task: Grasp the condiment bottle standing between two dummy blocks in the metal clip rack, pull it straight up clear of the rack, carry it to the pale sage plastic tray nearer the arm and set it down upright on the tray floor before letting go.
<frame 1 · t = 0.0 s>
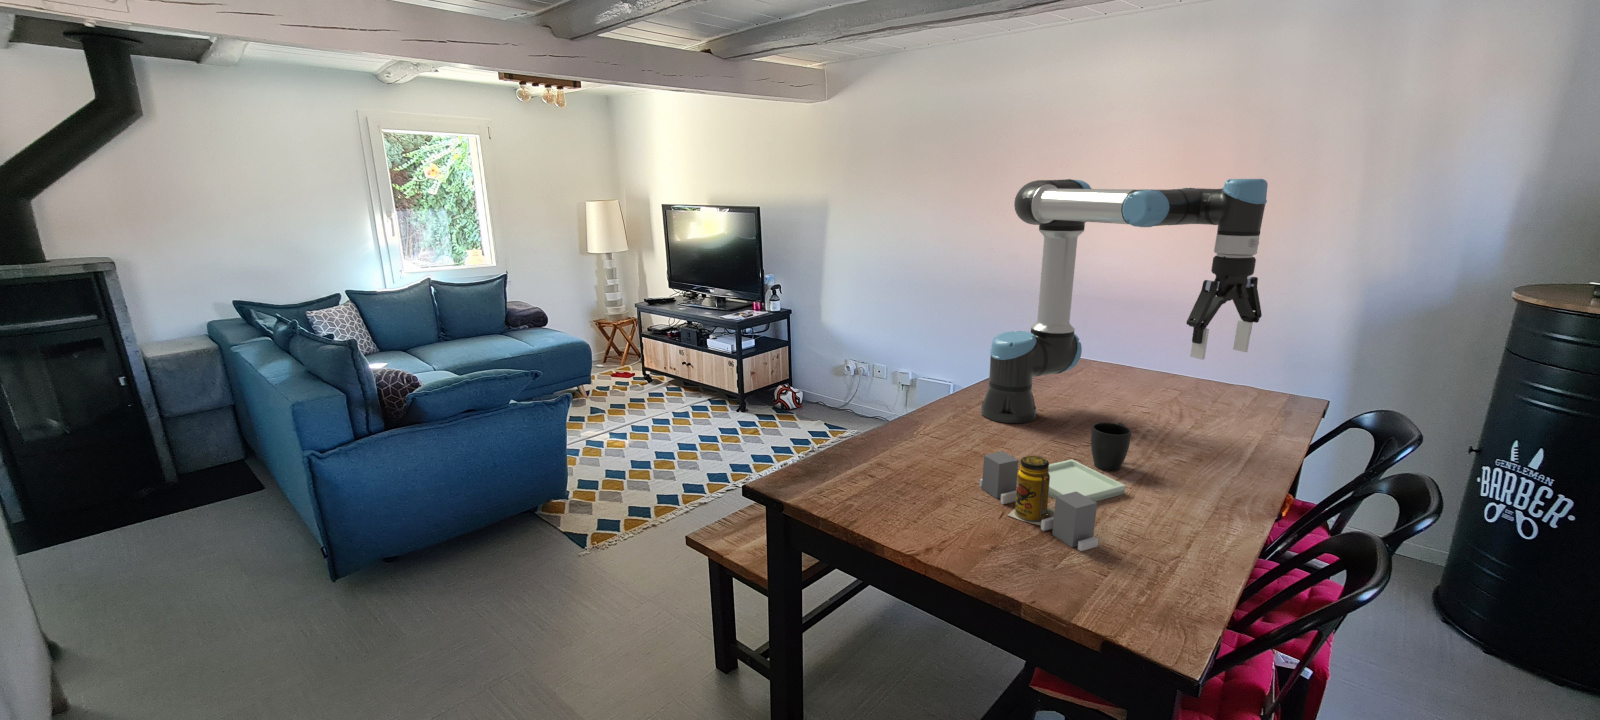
hand: (1219, 354, 142), 28 cm above the table, fingers open, 13 cm apart
tray: (1070, 486, 145), on the table
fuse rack: (1032, 513, 133), on the table
mug: (1109, 464, 155), on the table
condiment: (1032, 514, 133), on the table
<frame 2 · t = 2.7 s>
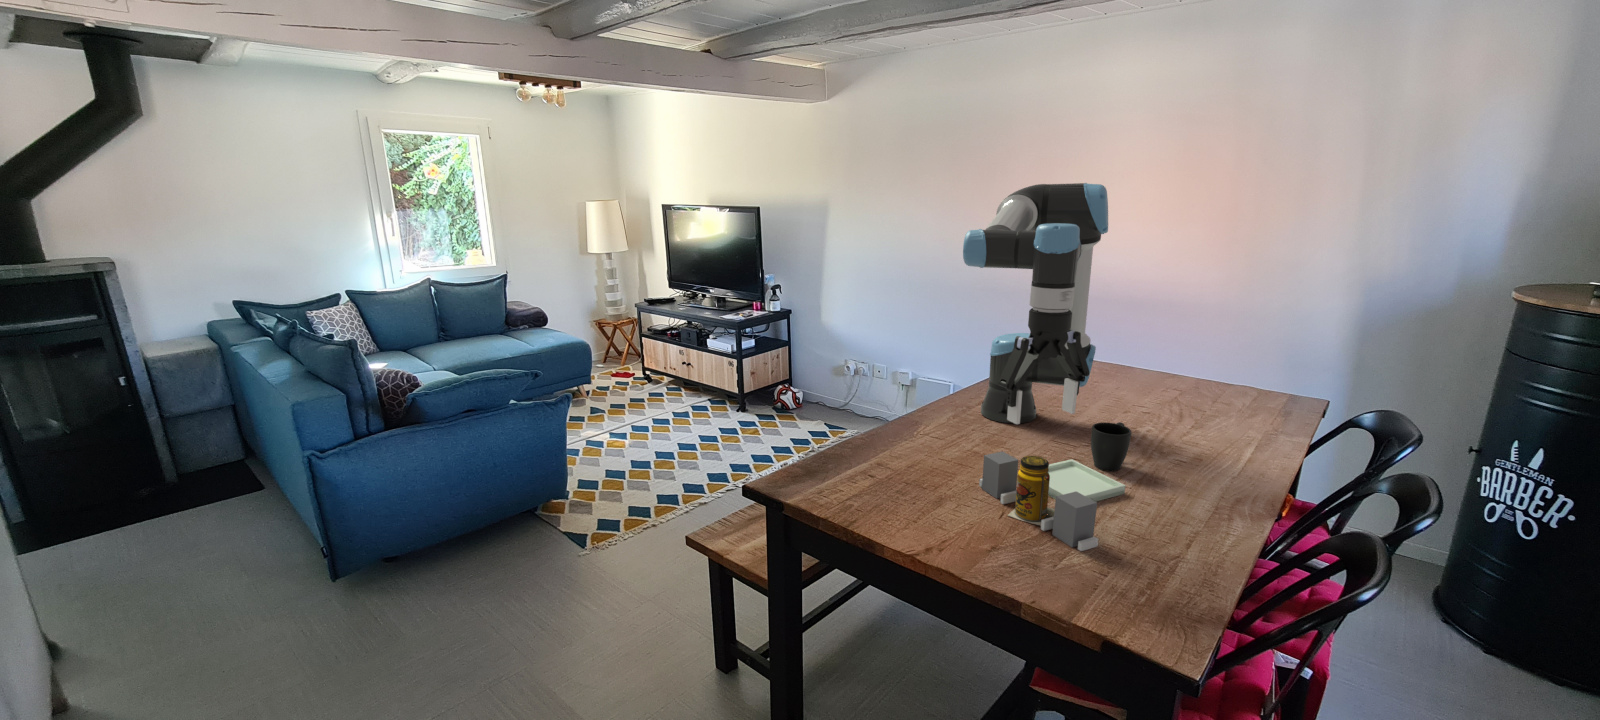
hand: (1041, 416, 128), 21 cm above the table, fingers open, 13 cm apart
nothing on the table moved.
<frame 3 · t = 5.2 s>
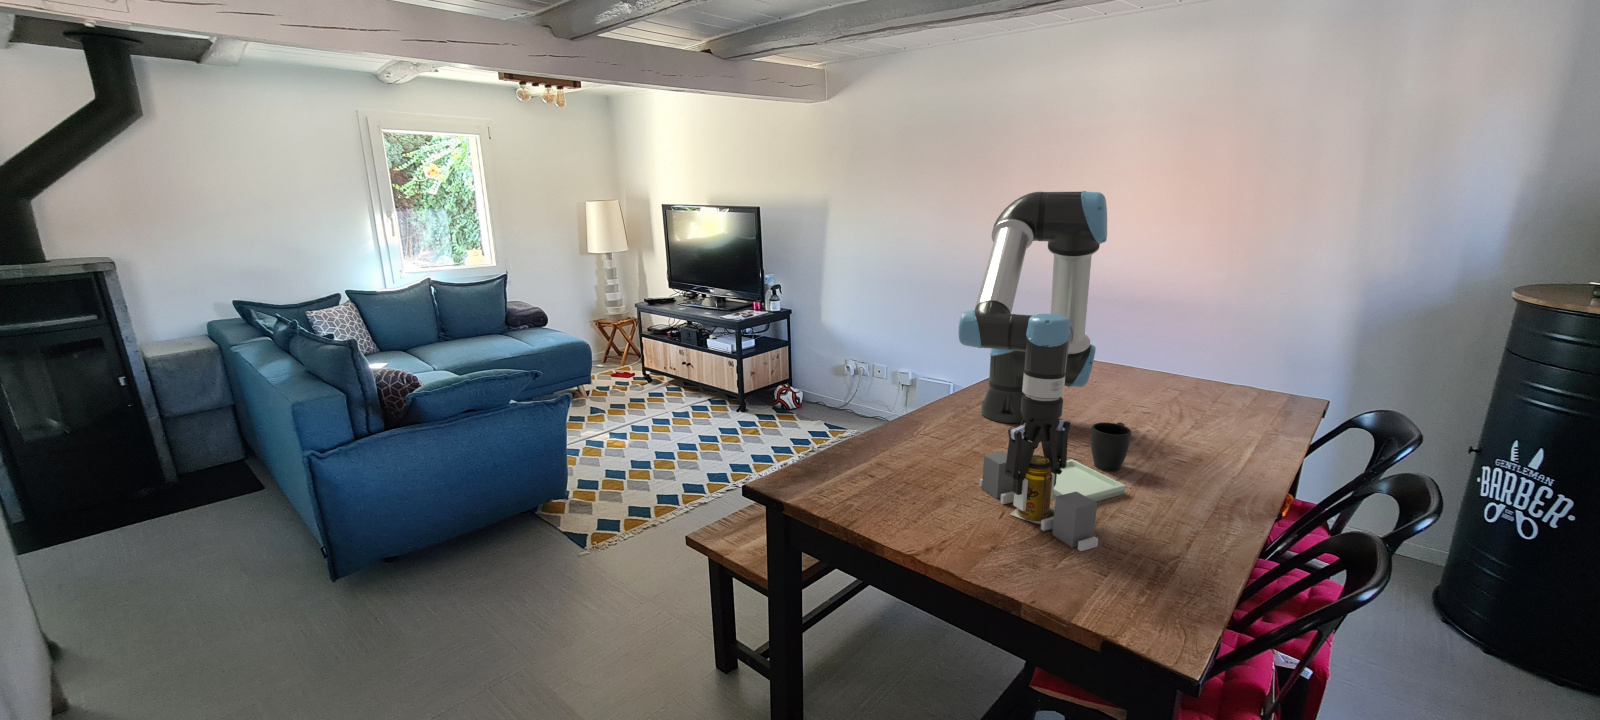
hand: (1032, 504, 132), 2 cm above the table, fingers closed on condiment, 6 cm apart
condiment: (1035, 513, 133), on the table, touching gripper
everything else where it was.
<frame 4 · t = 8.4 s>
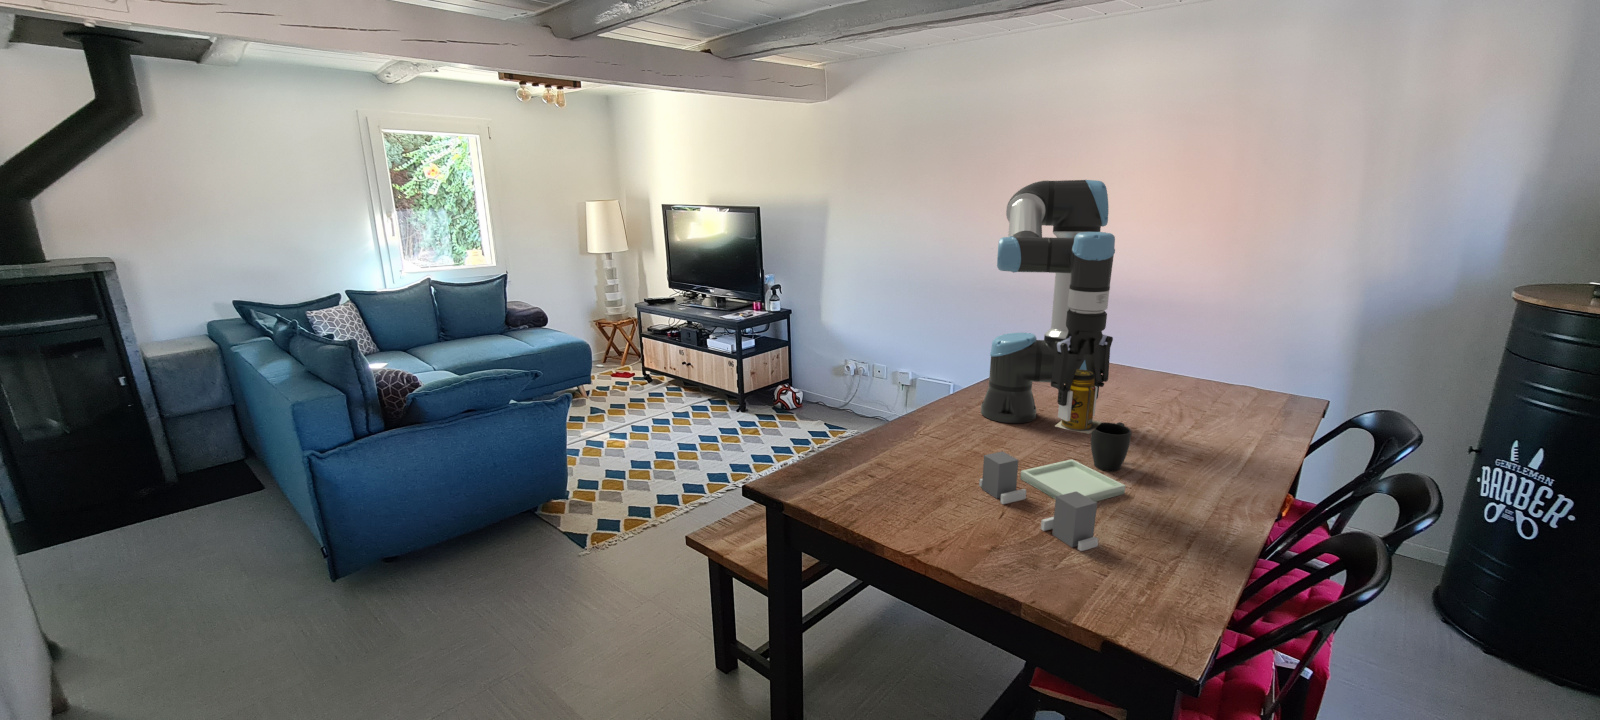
hand: (1076, 416, 140), 16 cm above the table, fingers closed on condiment, 6 cm apart
condiment: (1078, 425, 141), point 14 cm above the table, touching gripper
everything else where it was.
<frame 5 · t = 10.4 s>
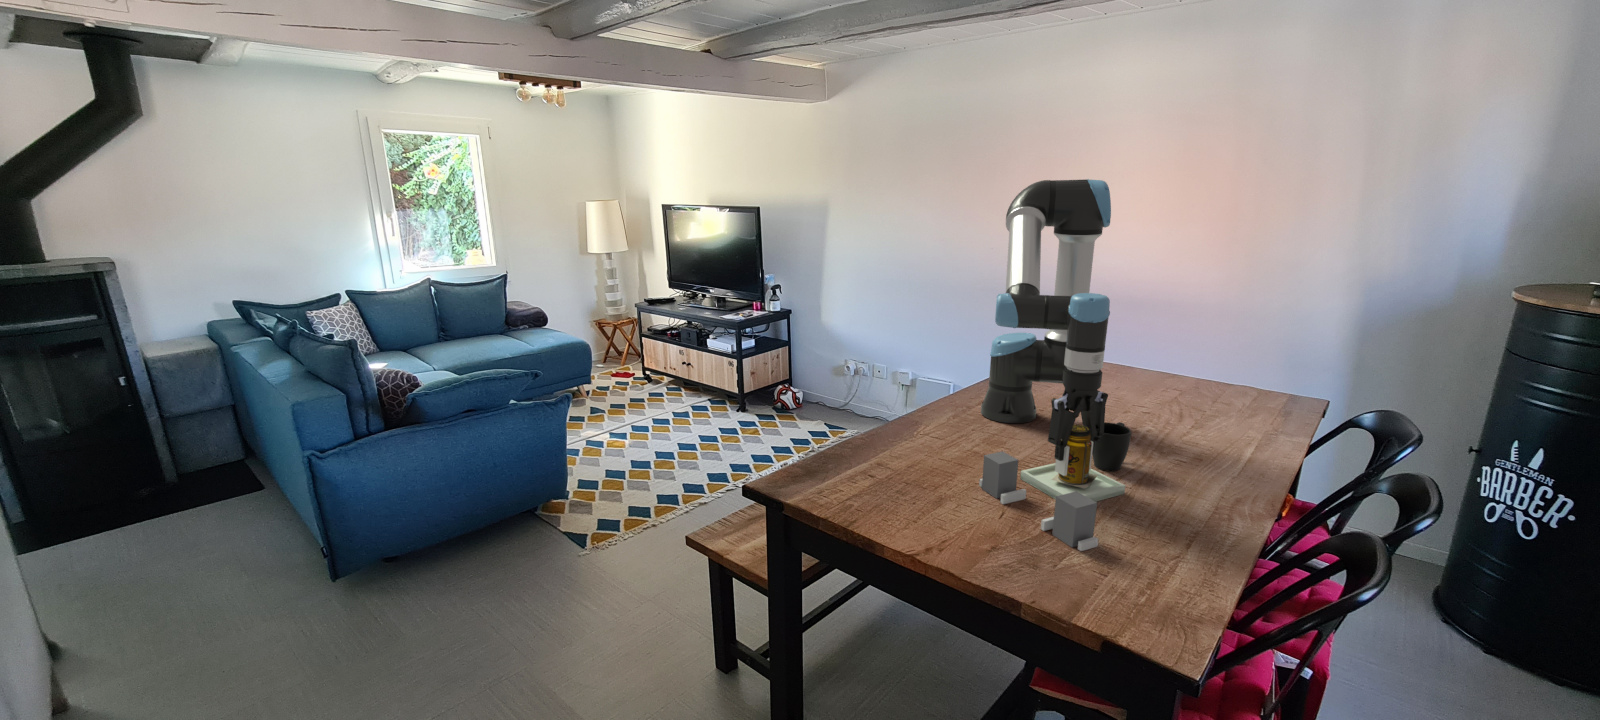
hand: (1072, 470, 143), 4 cm above the table, fingers closed on condiment, 6 cm apart
condiment: (1074, 479, 144), point 2 cm above the table, touching gripper
everything else where it was.
when the fingers open (3 cm above the table, at t = 11.5 s): condiment stays where it is, resting on tray.
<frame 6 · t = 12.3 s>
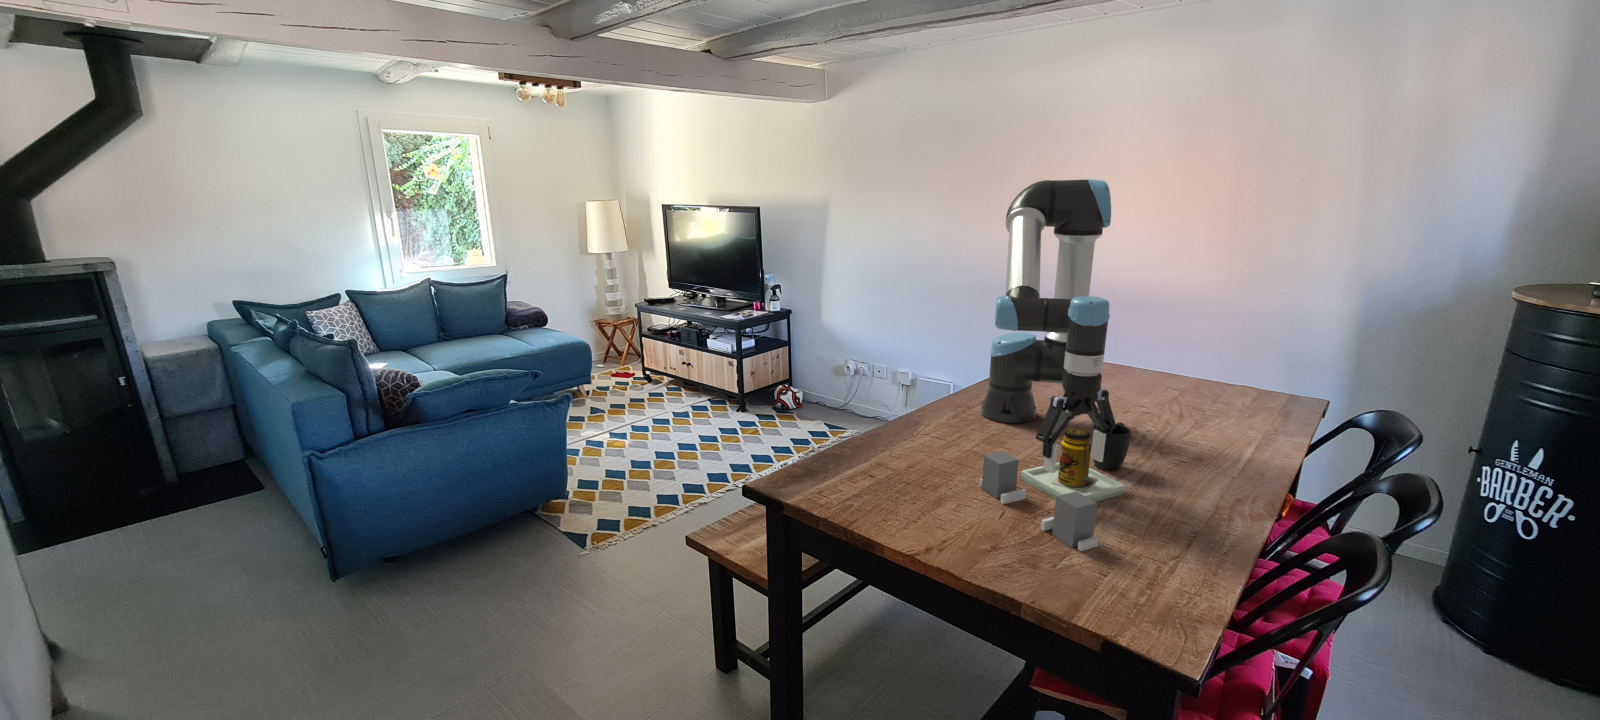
hand: (1073, 465, 143), 5 cm above the table, fingers open, 13 cm apart
condiment: (1074, 482, 145), point 1 cm above the table, touching tray
everything else where it was.
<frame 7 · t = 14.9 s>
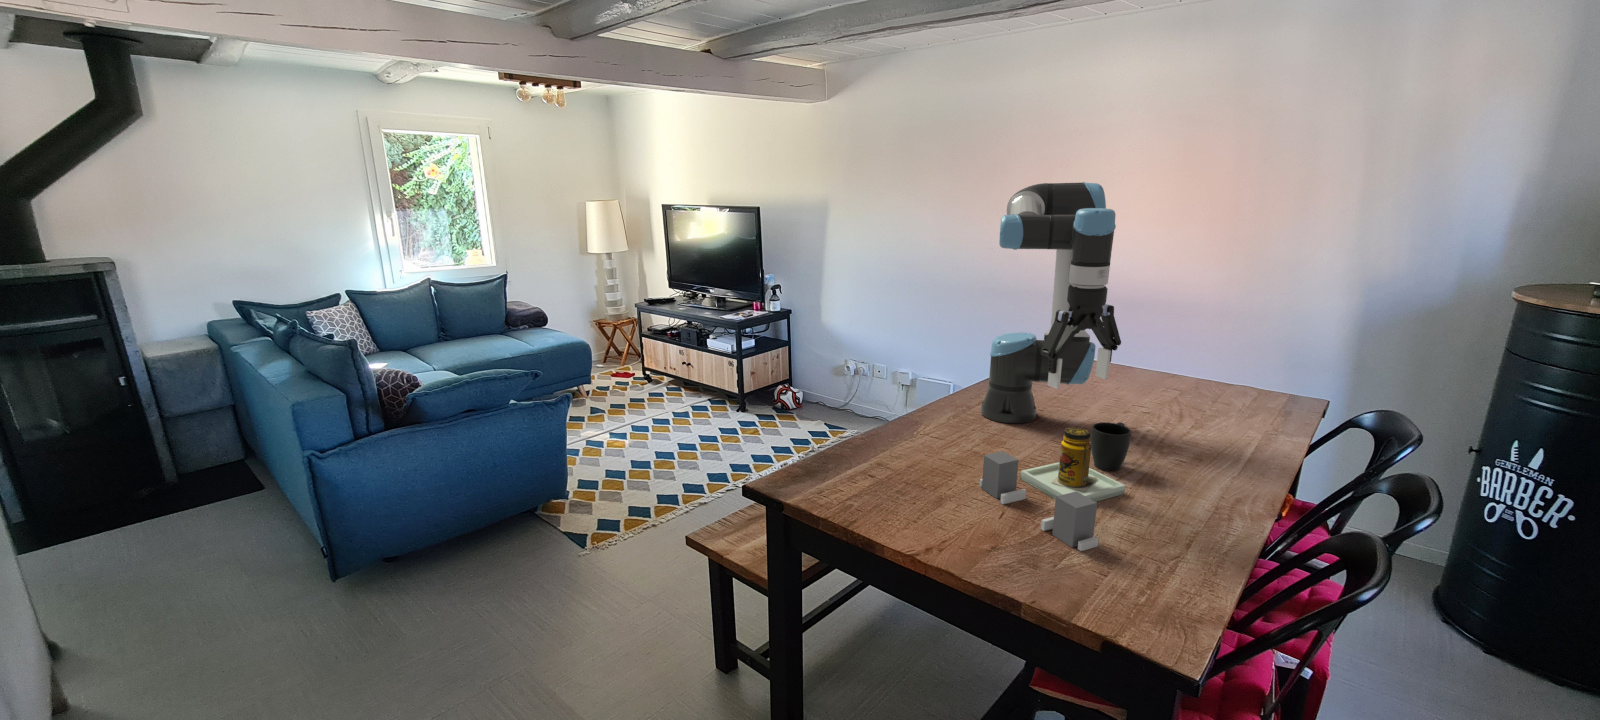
hand: (1077, 382, 142), 23 cm above the table, fingers open, 13 cm apart
nothing on the table moved.
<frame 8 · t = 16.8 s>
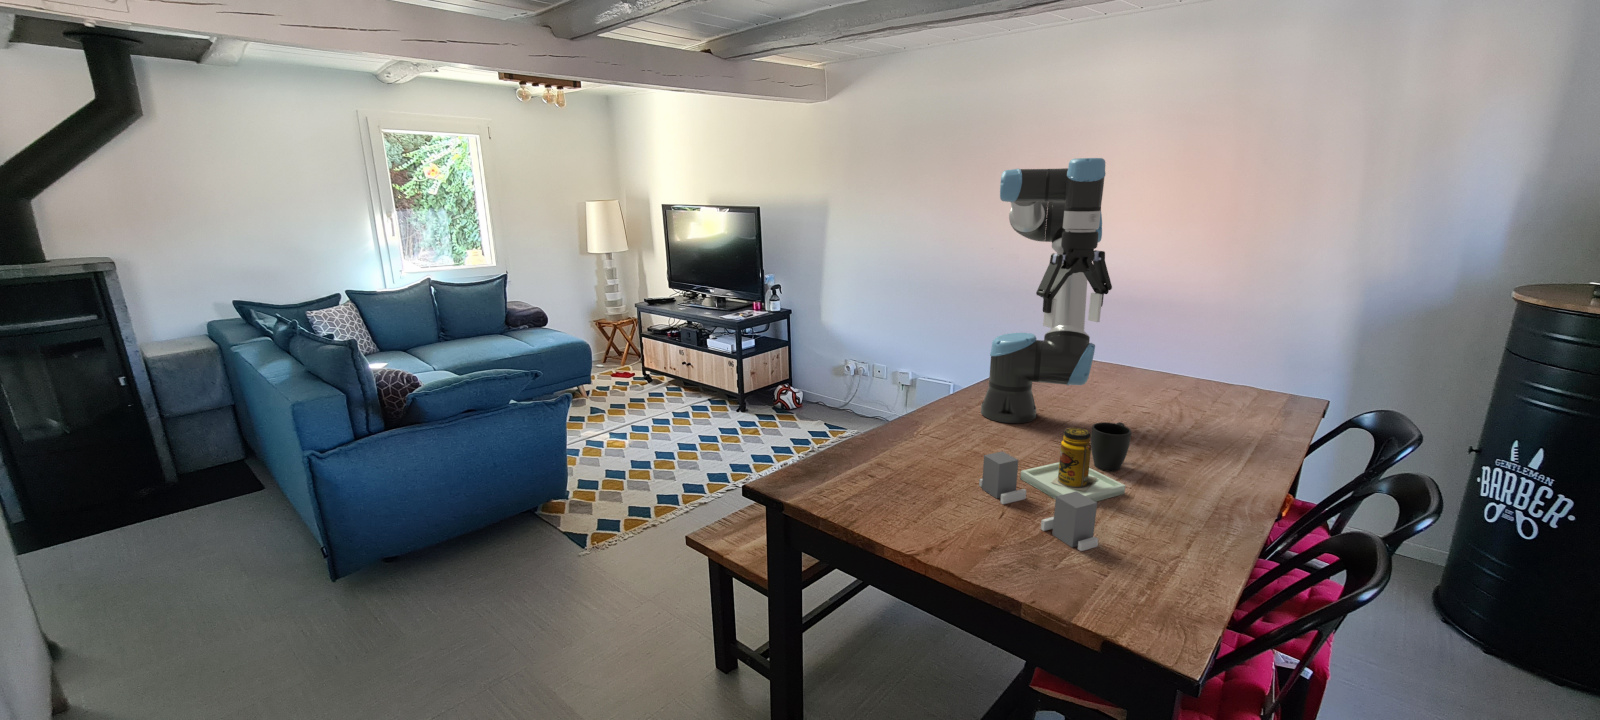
hand: (1071, 324, 152), 33 cm above the table, fingers open, 13 cm apart
nothing on the table moved.
at the end: condiment inside the target area on the tray (0.9 cm from its centre), point 0.8 cm above the tray's base; condiment tilted 0°; the gripper is holding nothing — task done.
